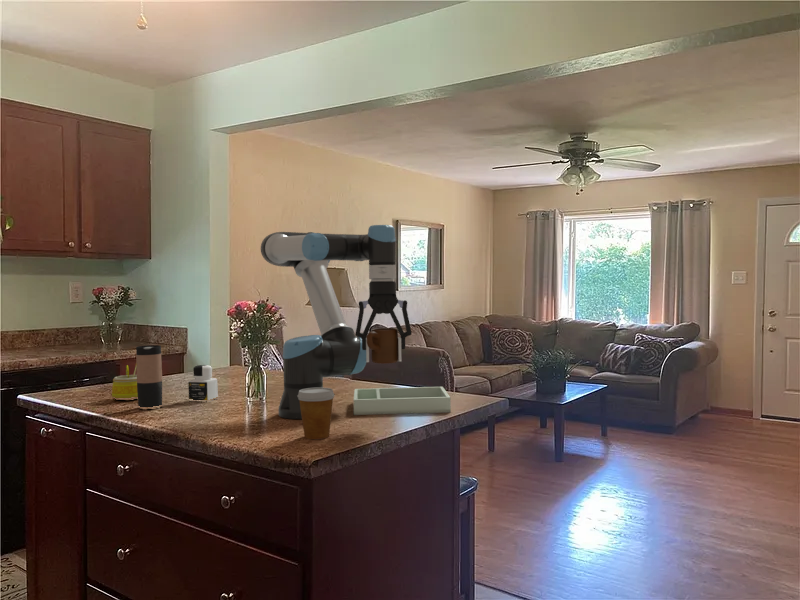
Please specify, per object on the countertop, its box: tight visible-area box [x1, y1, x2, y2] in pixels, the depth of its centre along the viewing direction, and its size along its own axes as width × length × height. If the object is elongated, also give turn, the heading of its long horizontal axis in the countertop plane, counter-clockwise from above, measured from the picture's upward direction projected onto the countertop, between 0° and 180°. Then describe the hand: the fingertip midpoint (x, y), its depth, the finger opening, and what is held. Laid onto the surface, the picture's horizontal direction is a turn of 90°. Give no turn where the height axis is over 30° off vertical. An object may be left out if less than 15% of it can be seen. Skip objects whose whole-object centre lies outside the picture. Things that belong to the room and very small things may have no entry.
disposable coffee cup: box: [297, 387, 336, 440], centre depth 167 cm, size 10×10×12 cm
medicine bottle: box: [187, 364, 219, 400], centre depth 223 cm, size 7×7×12 cm
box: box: [353, 386, 452, 416], centre depth 204 cm, size 29×20×4 cm
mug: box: [366, 327, 399, 365], centre depth 182 cm, size 12×8×9 cm, turn 147°
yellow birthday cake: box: [111, 363, 138, 398], centre depth 228 cm, size 13×11×12 cm
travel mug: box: [135, 344, 163, 407], centre depth 210 cm, size 8×8×20 cm
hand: (383, 361), depth 183 cm, fingers closed on mug, 8 cm apart
